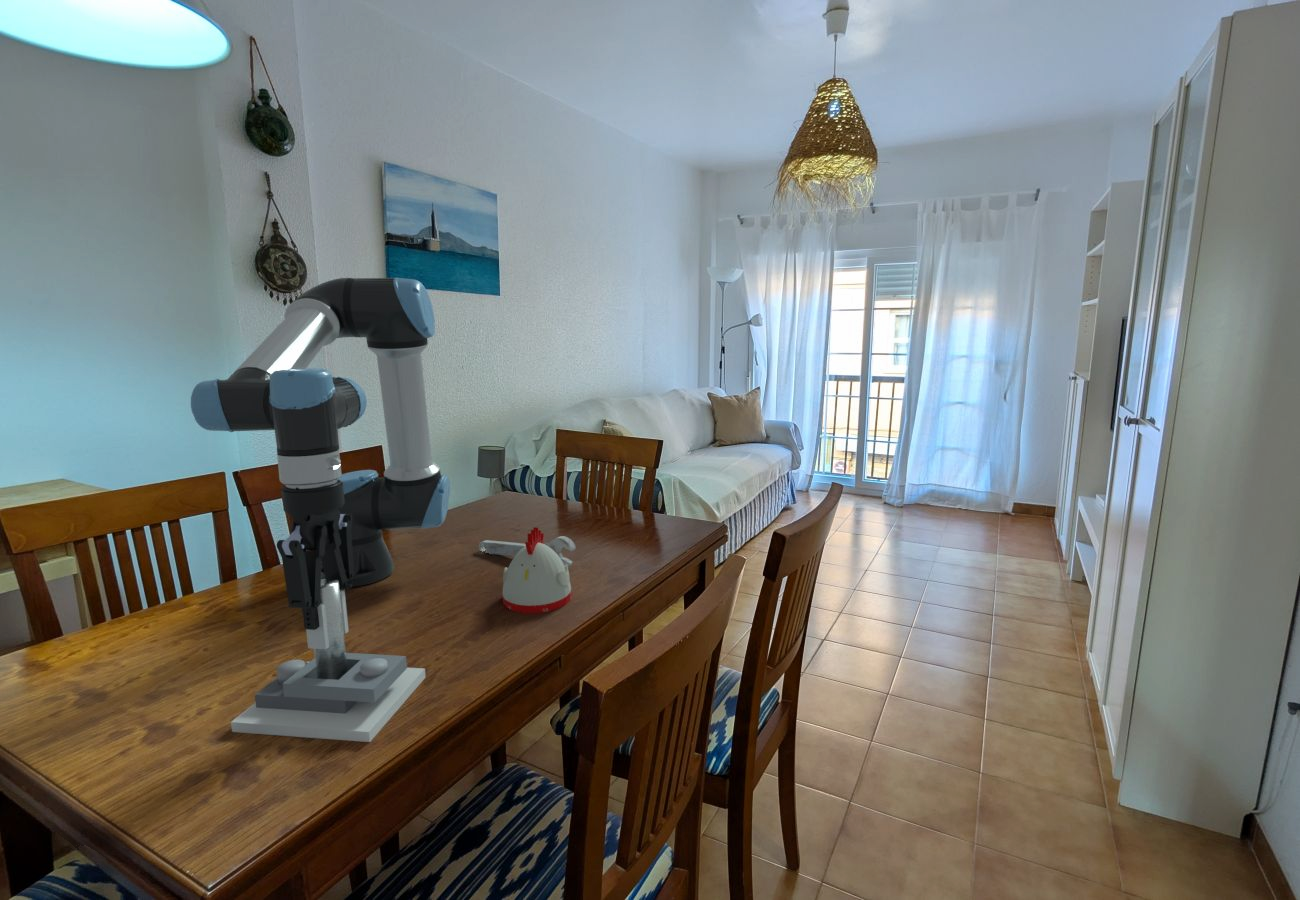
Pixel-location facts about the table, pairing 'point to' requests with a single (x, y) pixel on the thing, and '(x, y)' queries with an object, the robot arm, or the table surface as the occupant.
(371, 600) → the table surface
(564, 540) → the wrench
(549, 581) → the kitchen timer
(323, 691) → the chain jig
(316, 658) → the pin
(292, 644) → the table surface
